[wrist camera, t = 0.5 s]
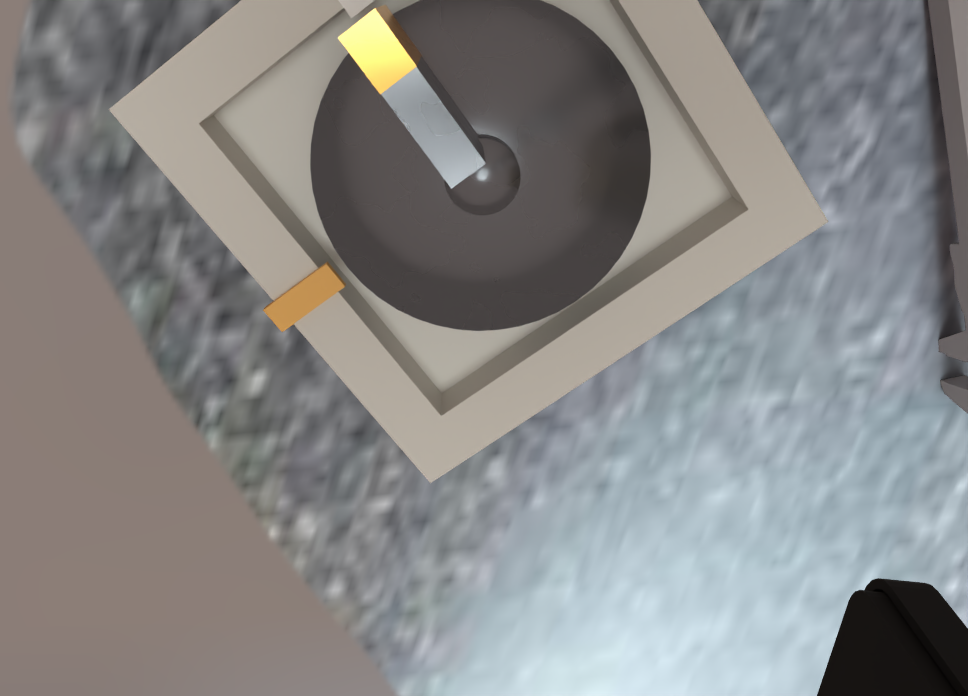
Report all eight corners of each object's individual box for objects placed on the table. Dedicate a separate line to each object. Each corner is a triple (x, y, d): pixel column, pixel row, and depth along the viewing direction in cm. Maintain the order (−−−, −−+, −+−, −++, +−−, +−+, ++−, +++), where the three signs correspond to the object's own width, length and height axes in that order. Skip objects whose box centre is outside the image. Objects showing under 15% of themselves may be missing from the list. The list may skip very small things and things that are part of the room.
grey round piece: (695, 191, 33) (750, 239, 27) (447, 361, 35) (445, 442, 29) (512, -94, 29) (527, -113, 23) (248, 115, 31) (198, 147, 25)
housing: (530, -239, 29) (540, -269, 26) (793, 199, 35) (831, 224, 31) (126, 93, 33) (87, 108, 29) (424, 445, 38) (421, 492, 35)
